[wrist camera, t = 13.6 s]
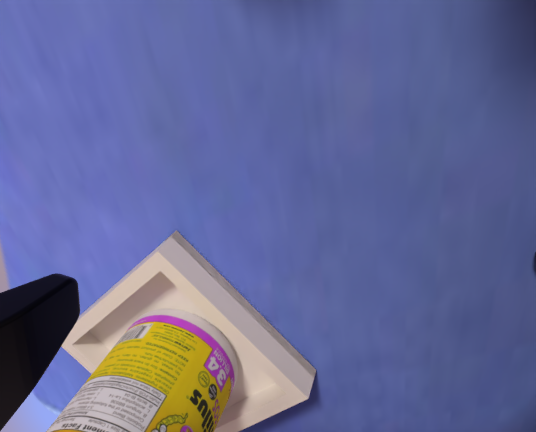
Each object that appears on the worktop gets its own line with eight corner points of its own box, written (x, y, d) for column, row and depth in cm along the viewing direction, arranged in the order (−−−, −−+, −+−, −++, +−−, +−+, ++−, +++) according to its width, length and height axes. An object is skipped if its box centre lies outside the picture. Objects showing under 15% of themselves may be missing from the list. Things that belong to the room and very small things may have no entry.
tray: (316, 370, 27) (308, 398, 25) (197, 430, 32) (184, 456, 31) (176, 230, 25) (157, 251, 23) (76, 318, 30) (55, 340, 29)
